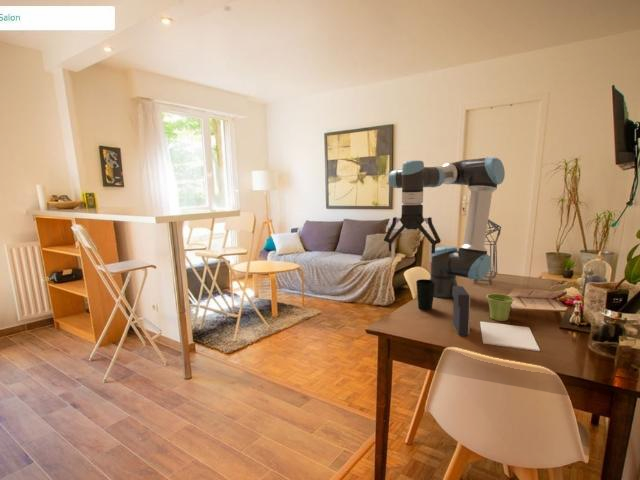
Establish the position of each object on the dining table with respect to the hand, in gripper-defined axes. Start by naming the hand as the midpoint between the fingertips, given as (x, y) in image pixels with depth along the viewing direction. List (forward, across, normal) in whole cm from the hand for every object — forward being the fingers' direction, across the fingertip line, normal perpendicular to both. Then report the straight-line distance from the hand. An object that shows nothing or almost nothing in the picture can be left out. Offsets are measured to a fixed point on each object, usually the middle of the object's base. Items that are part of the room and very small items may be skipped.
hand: (411, 260), depth 123 cm
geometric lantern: (+25, +29, +69) cm, 79 cm away
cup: (+25, +4, +18) cm, 31 cm away
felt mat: (+25, +33, 0) cm, 41 cm away
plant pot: (+25, +32, +16) cm, 43 cm away
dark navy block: (+25, +18, 0) cm, 31 cm away
